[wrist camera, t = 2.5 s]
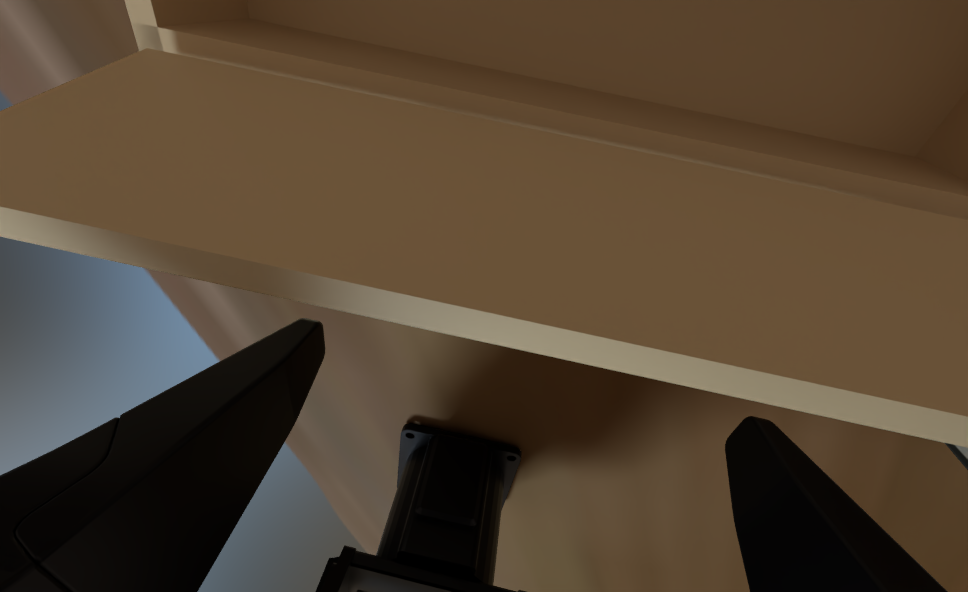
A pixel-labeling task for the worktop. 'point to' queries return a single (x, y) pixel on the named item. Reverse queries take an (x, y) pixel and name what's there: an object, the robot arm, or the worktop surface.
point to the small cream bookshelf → (641, 75)
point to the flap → (501, 236)
